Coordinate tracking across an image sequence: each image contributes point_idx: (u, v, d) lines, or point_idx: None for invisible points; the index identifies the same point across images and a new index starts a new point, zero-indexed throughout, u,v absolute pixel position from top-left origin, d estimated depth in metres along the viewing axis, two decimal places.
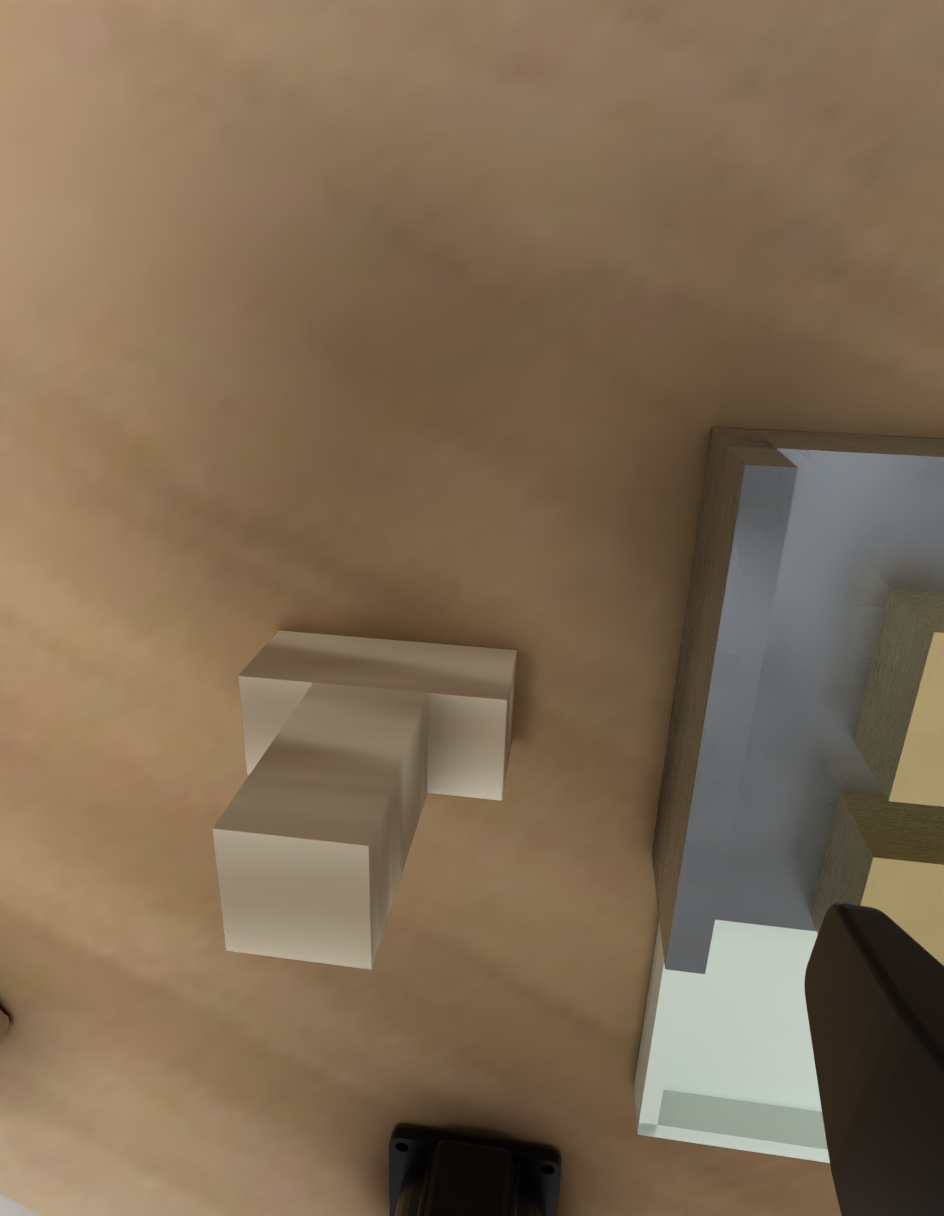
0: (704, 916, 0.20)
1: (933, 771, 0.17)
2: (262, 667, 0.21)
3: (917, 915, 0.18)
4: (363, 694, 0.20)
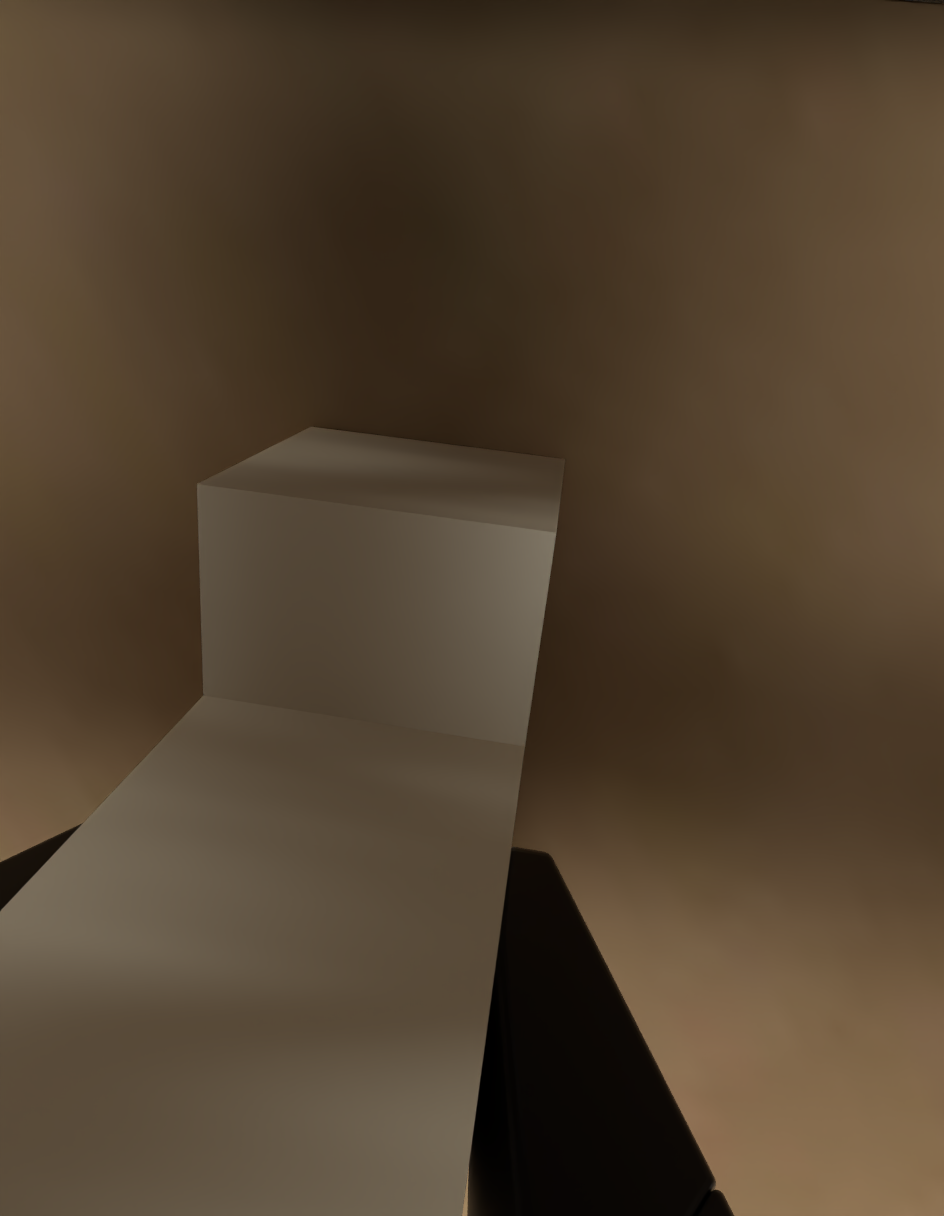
0: None
1: None
2: None
3: None
4: None
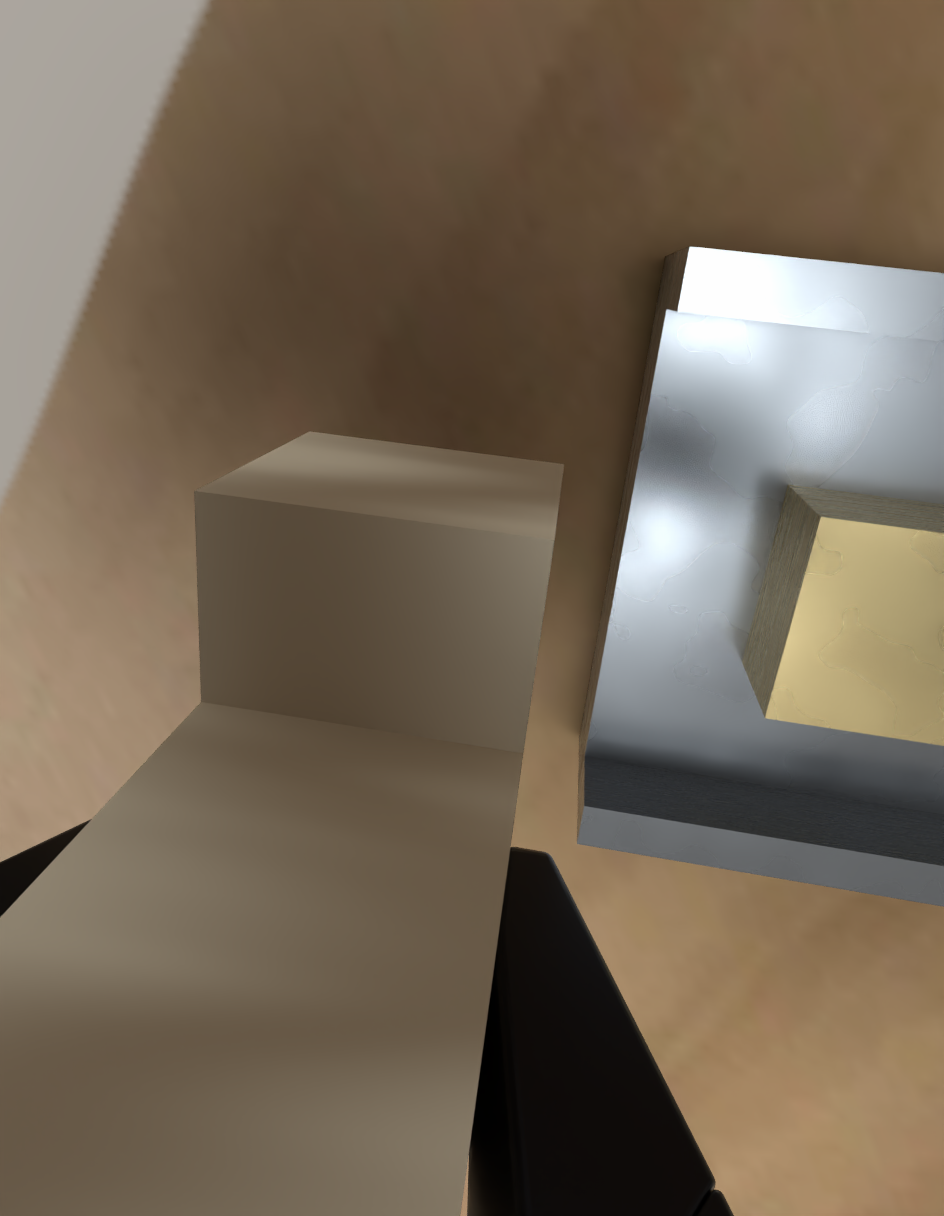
0: None
1: None
2: None
3: None
4: None
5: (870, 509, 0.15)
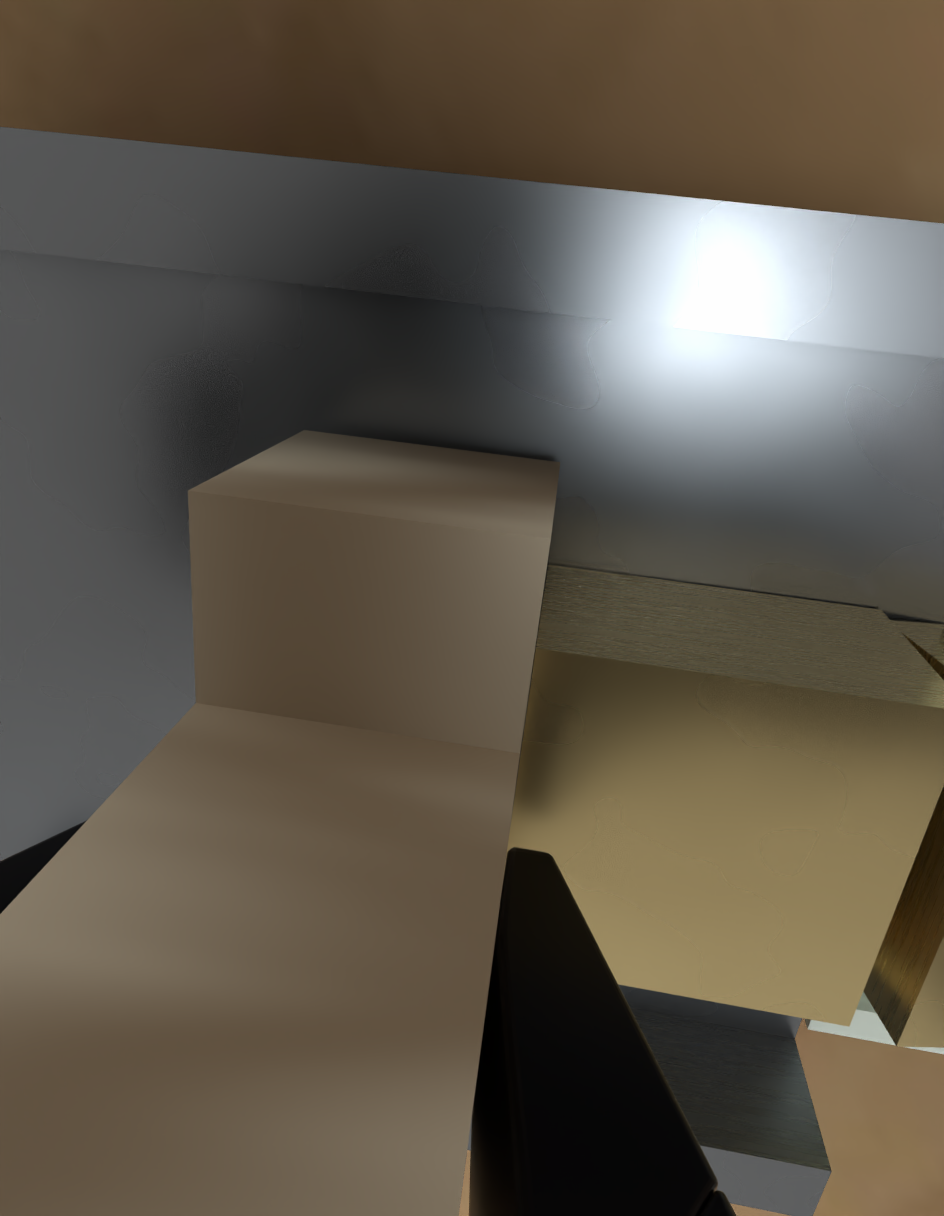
0: None
1: (787, 963, 0.09)
2: None
3: None
4: None
5: (652, 620, 0.09)
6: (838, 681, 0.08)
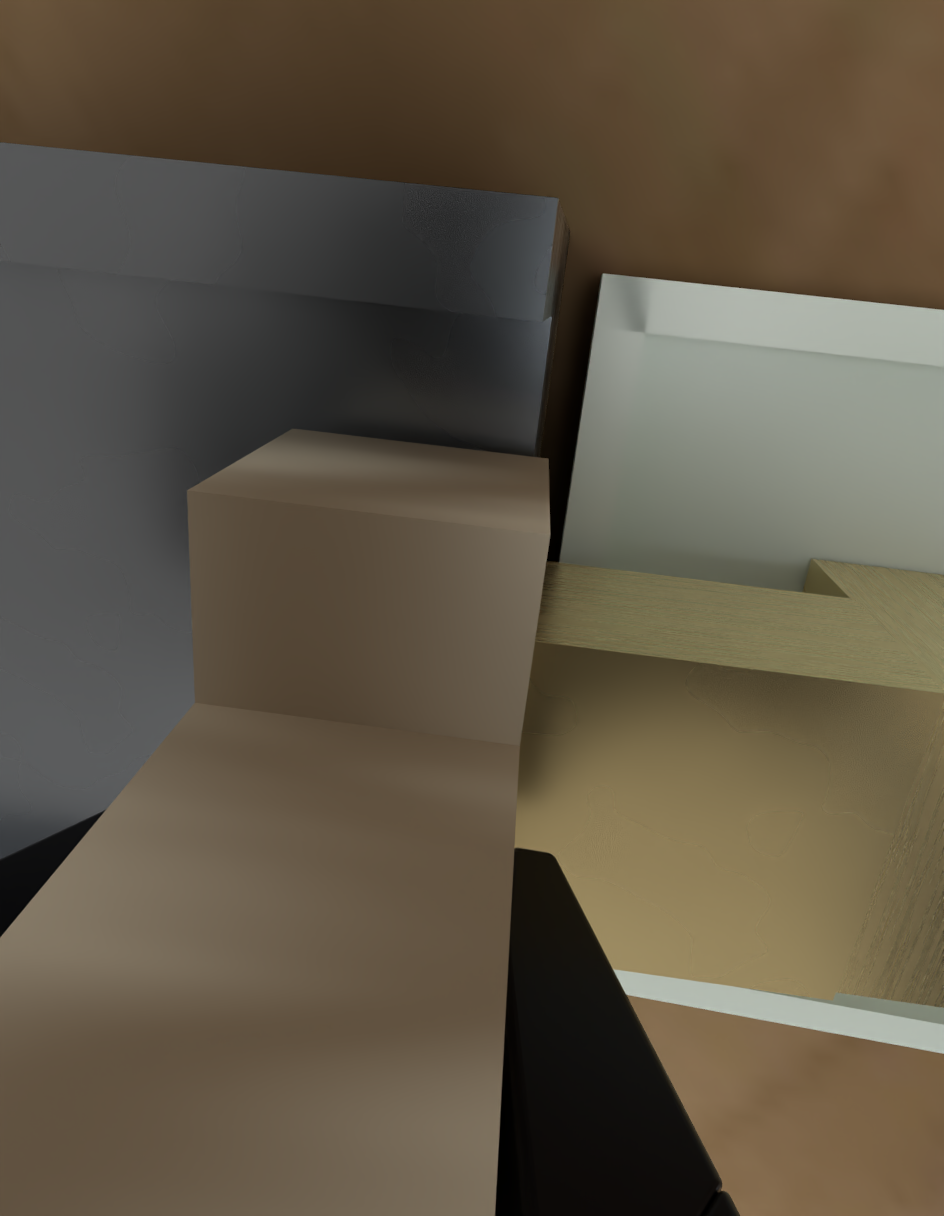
0: None
1: (774, 941, 0.09)
2: None
3: None
4: None
5: (640, 611, 0.09)
6: (820, 667, 0.08)
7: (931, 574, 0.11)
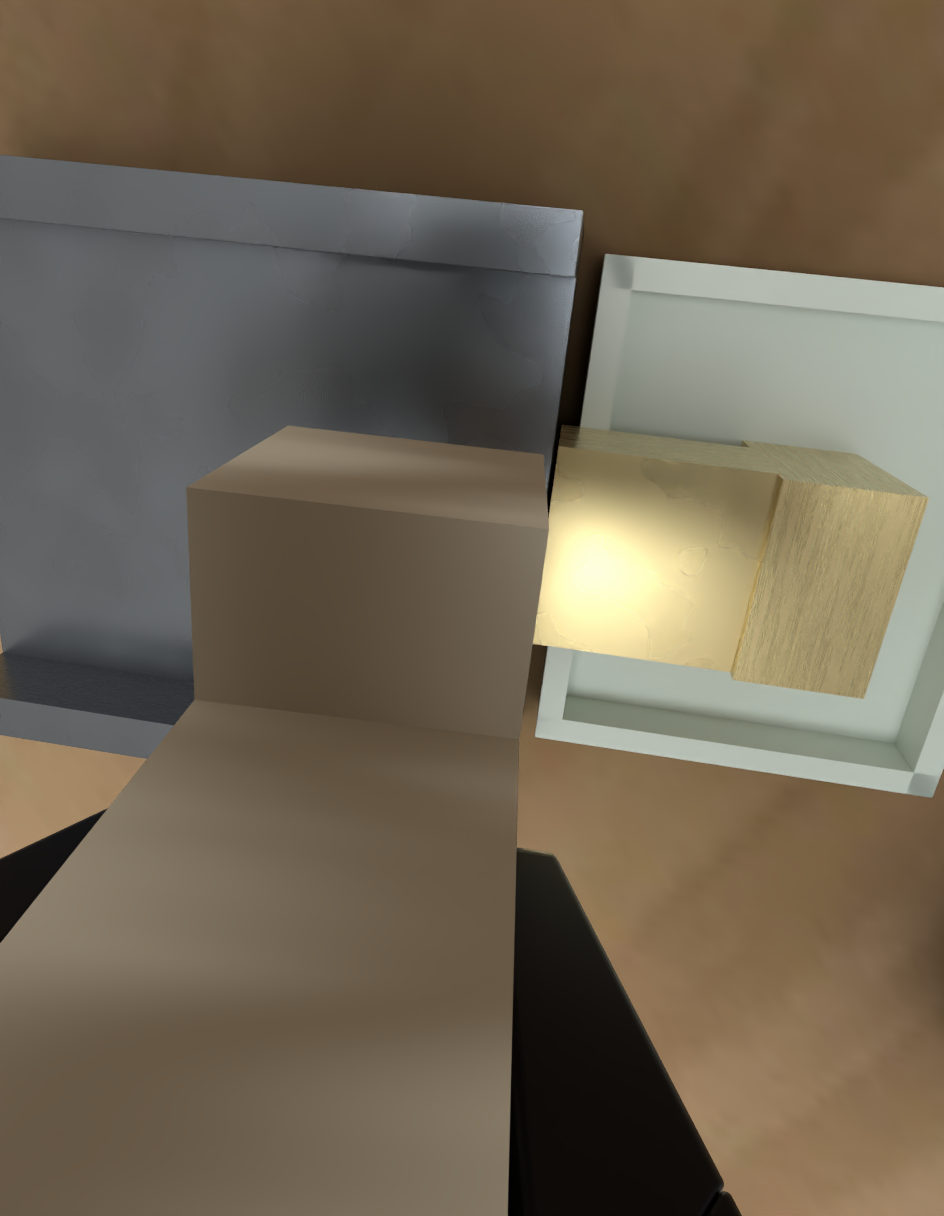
0: None
1: (695, 632, 0.16)
2: None
3: None
4: None
5: (621, 442, 0.16)
6: (715, 463, 0.15)
7: (819, 449, 0.18)
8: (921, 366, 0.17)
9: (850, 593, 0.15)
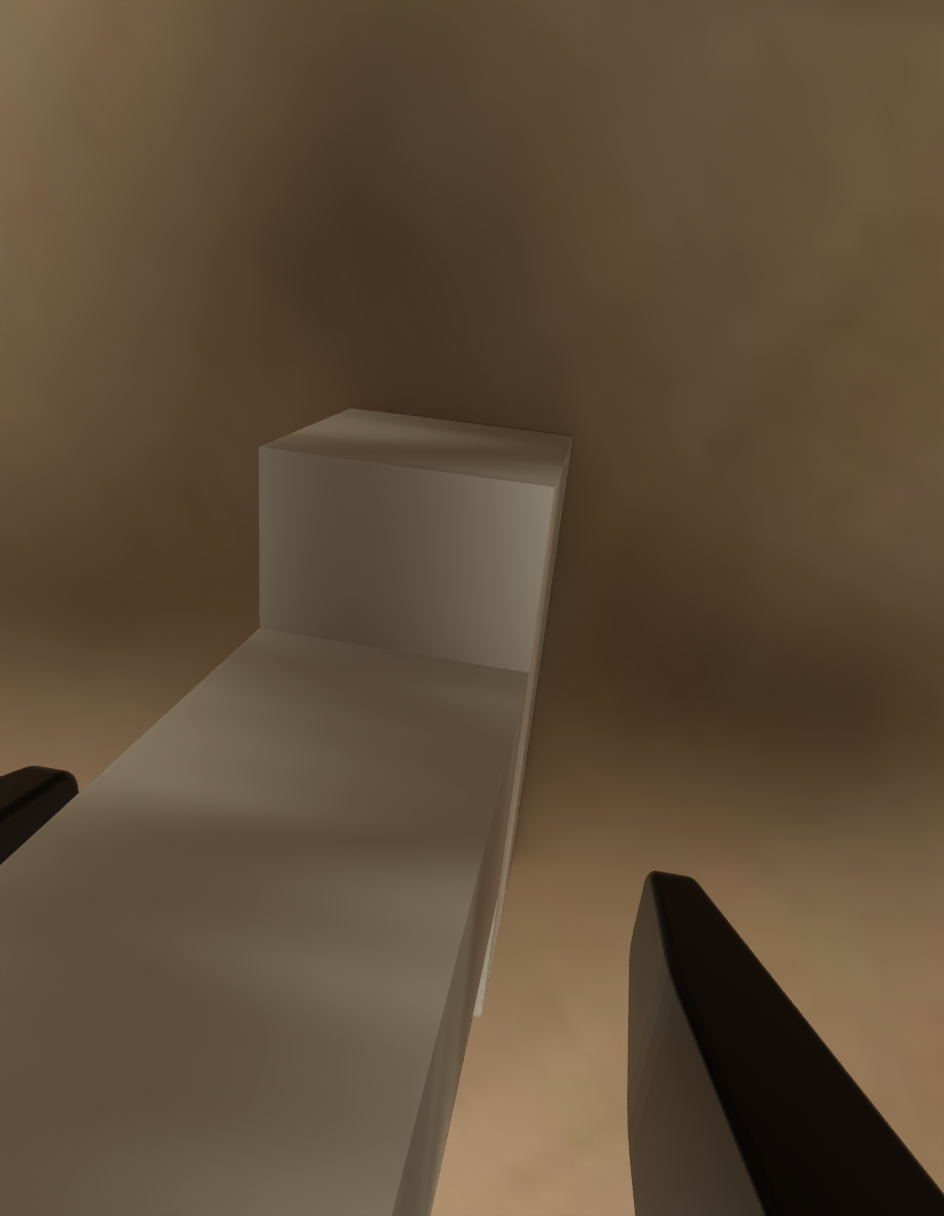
0: None
1: None
2: None
3: None
4: None
5: None
6: None
7: None
8: None
9: None
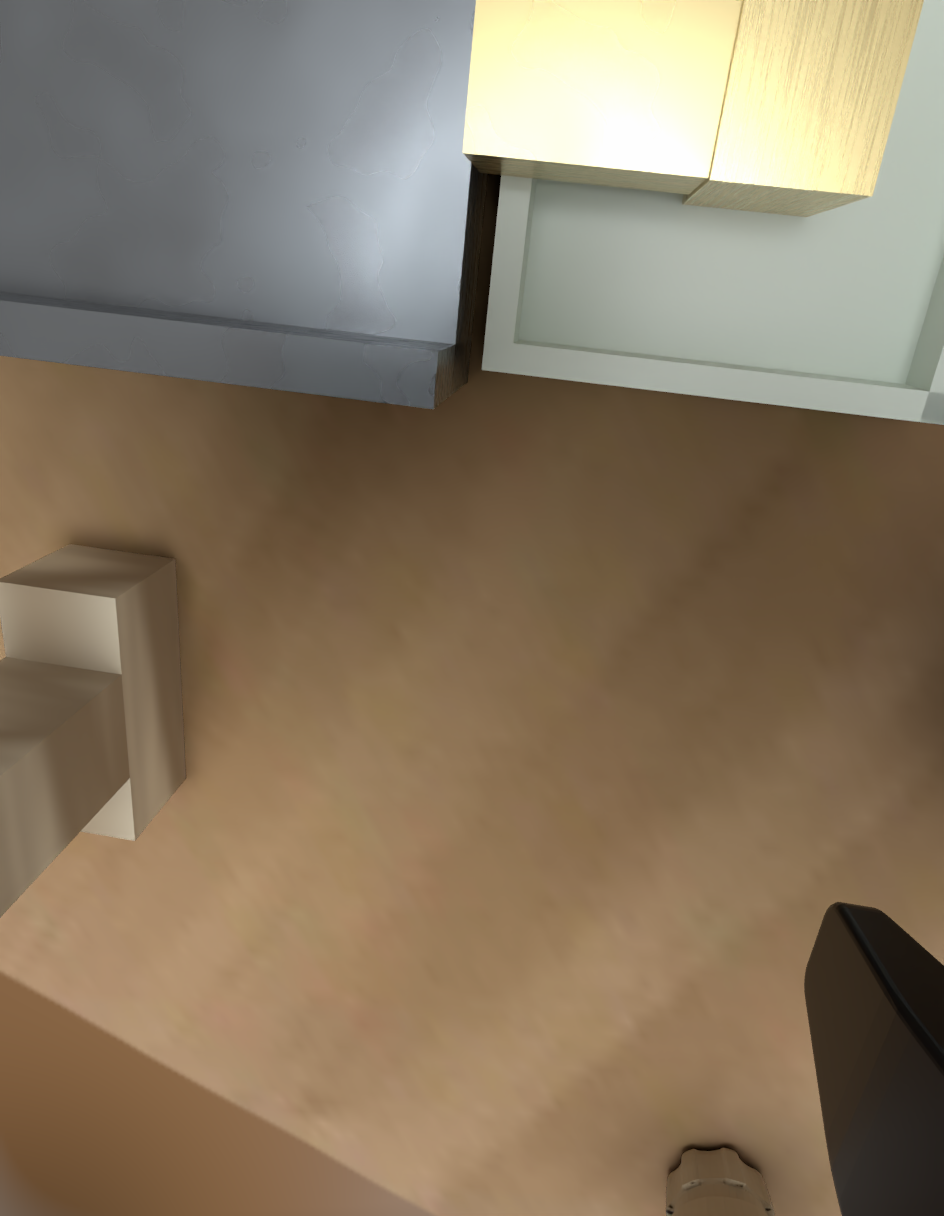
0: (336, 355, 0.14)
1: (664, 120, 0.13)
2: None
3: None
4: None
5: None
6: None
7: None
8: None
9: (857, 32, 0.12)
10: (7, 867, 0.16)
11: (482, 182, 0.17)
